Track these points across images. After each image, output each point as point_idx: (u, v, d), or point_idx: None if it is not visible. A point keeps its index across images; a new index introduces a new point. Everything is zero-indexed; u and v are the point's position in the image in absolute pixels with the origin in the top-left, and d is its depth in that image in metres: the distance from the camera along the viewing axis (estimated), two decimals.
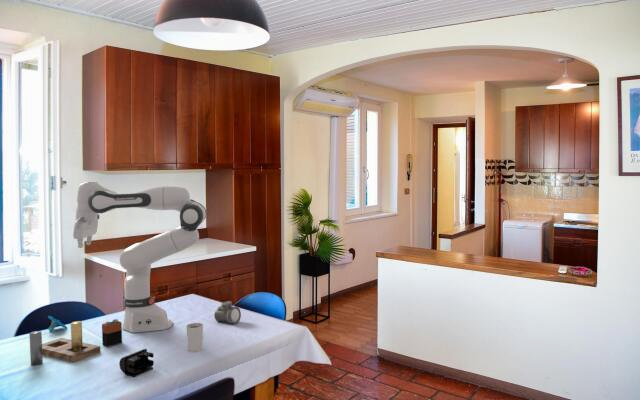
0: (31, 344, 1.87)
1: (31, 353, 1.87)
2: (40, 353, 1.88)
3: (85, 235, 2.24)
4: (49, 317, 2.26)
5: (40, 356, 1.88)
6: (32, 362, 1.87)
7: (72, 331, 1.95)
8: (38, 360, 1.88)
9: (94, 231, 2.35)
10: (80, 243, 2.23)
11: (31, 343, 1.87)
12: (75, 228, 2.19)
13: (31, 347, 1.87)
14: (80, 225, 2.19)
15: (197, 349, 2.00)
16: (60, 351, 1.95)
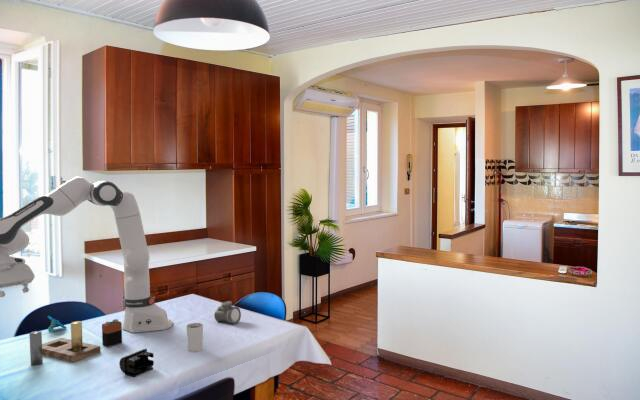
0: (31, 344, 1.87)
1: (31, 353, 1.87)
2: (40, 353, 1.88)
3: None
4: (48, 317, 2.26)
5: (40, 356, 1.88)
6: (32, 362, 1.87)
7: (72, 331, 1.95)
8: (38, 360, 1.88)
9: (26, 276, 2.01)
10: None
11: (31, 343, 1.87)
12: None
13: (31, 347, 1.87)
14: None
15: (197, 349, 2.00)
16: (60, 351, 1.95)
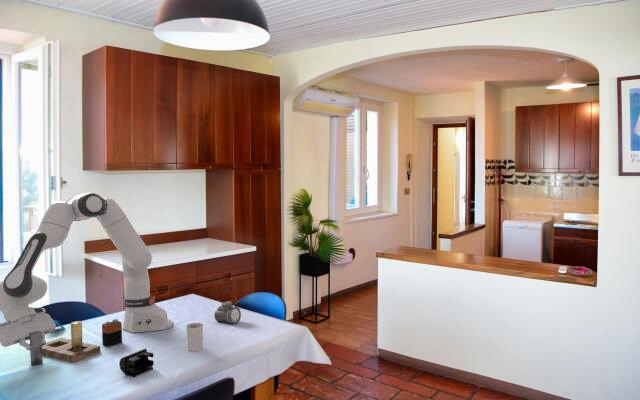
0: (31, 344, 1.87)
1: (31, 353, 1.87)
2: (40, 353, 1.88)
3: (18, 336, 1.85)
4: None
5: (40, 356, 1.88)
6: (32, 362, 1.87)
7: (72, 331, 1.95)
8: (38, 360, 1.88)
9: (47, 326, 1.95)
10: (25, 345, 1.85)
11: (31, 343, 1.87)
12: None
13: None
14: None
15: (197, 349, 2.00)
16: (60, 351, 1.95)
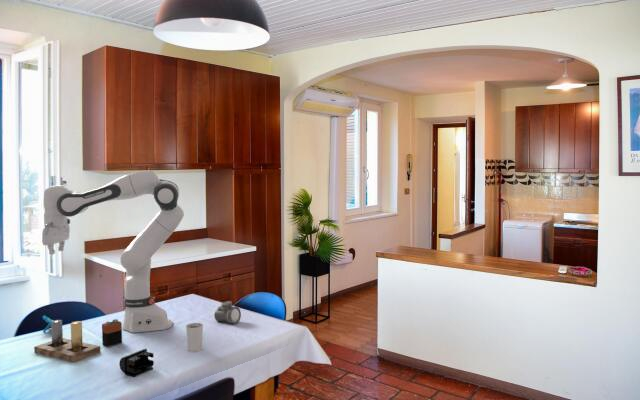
0: (53, 332, 2.01)
1: (53, 340, 2.01)
2: (61, 340, 2.02)
3: (55, 241, 2.17)
4: (43, 317, 2.26)
5: (61, 343, 2.02)
6: None
7: (72, 331, 1.95)
8: None
9: (66, 237, 2.28)
10: (51, 249, 2.16)
11: (52, 331, 2.01)
12: (43, 234, 2.12)
13: (53, 335, 2.01)
14: (48, 231, 2.12)
15: (197, 349, 2.00)
16: (60, 351, 1.95)
